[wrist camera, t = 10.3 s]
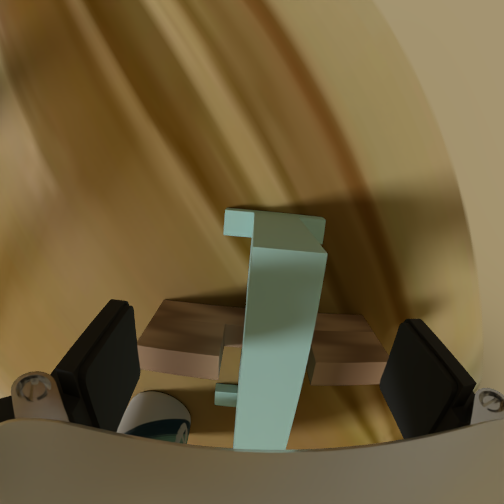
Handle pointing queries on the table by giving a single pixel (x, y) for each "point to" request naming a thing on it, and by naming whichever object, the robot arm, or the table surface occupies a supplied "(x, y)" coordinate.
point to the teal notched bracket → (274, 322)
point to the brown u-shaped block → (231, 334)
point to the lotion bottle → (156, 418)
